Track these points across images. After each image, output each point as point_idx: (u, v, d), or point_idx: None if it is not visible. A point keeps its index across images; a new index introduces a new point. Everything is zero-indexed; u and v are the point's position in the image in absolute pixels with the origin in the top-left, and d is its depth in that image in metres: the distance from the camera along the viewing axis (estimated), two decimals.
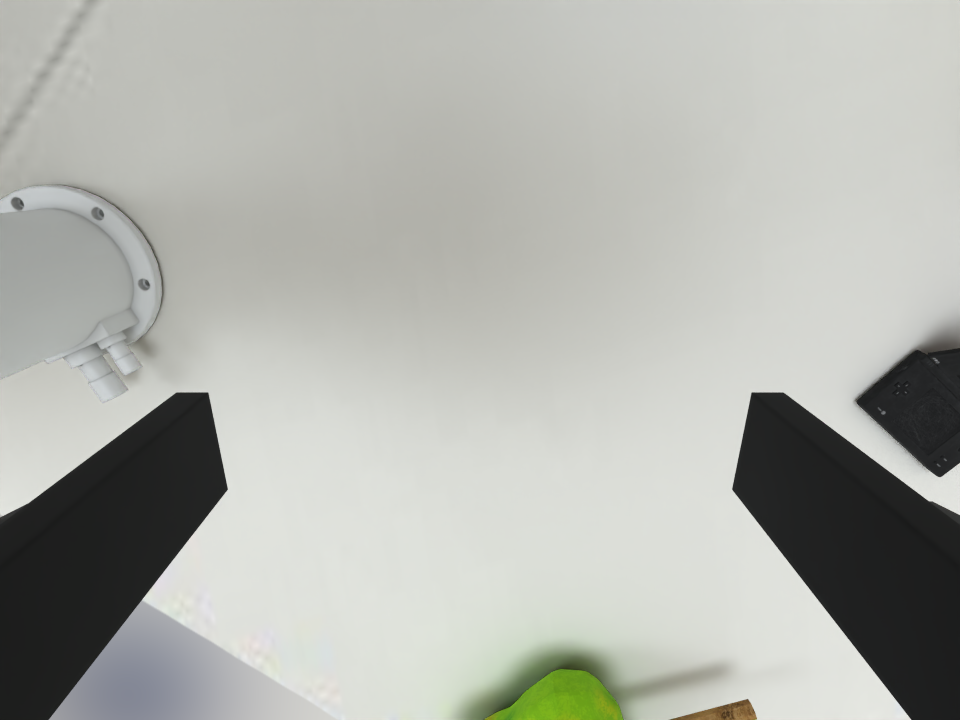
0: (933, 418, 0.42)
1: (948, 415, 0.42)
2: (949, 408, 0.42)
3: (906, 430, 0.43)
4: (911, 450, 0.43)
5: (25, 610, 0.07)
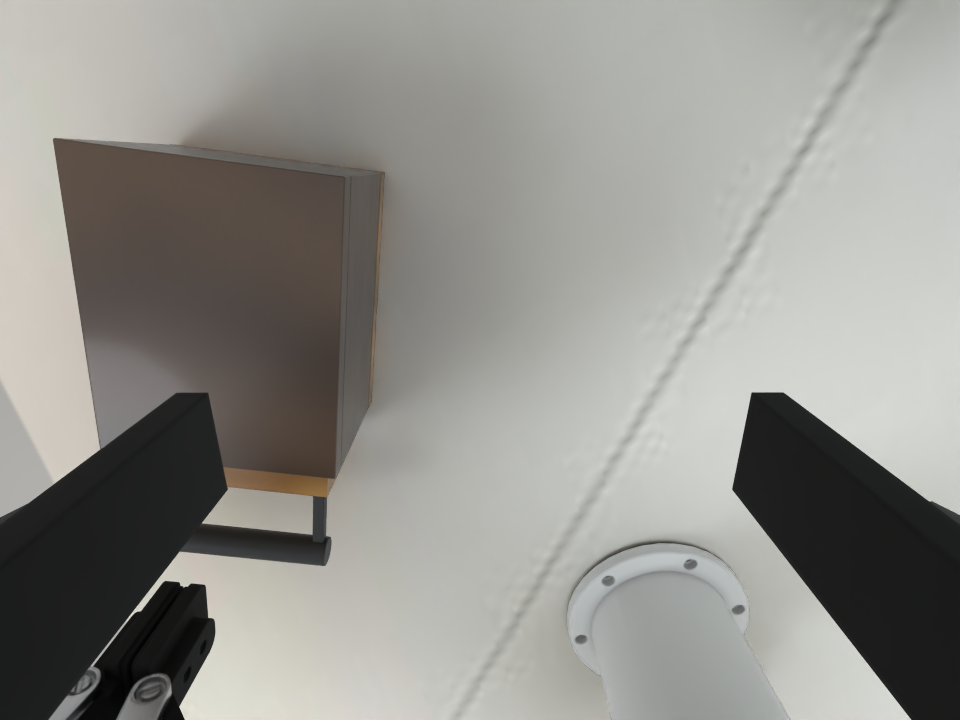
0: None
1: None
2: None
3: None
4: None
5: (24, 609, 0.07)
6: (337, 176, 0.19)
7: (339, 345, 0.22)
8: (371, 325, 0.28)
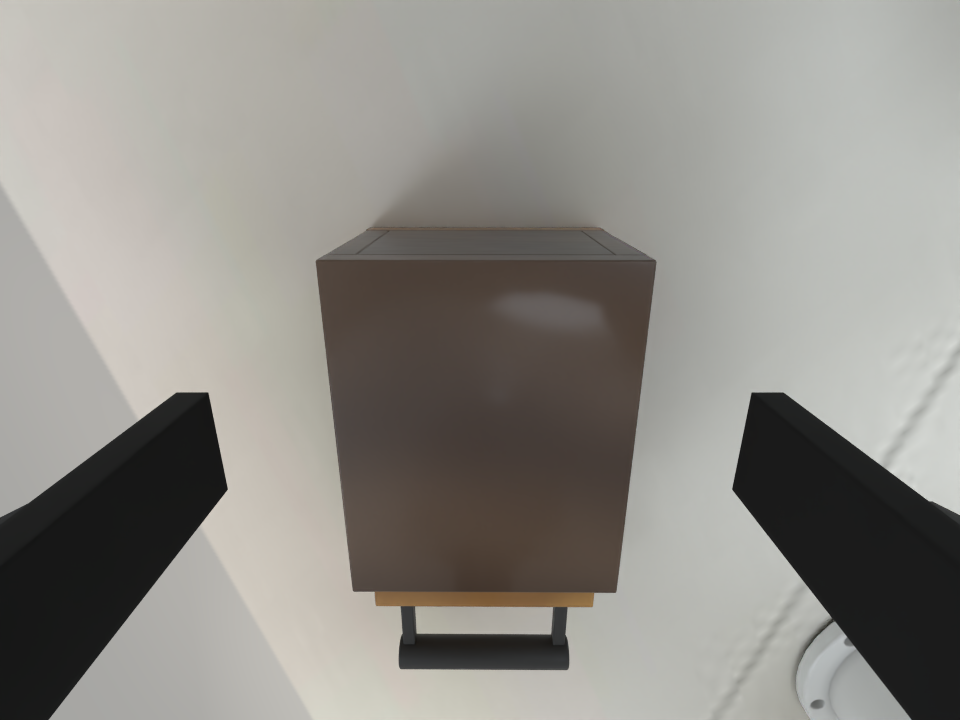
0: None
1: None
2: None
3: None
4: None
5: (24, 609, 0.07)
6: (647, 261, 0.16)
7: (633, 448, 0.18)
8: None
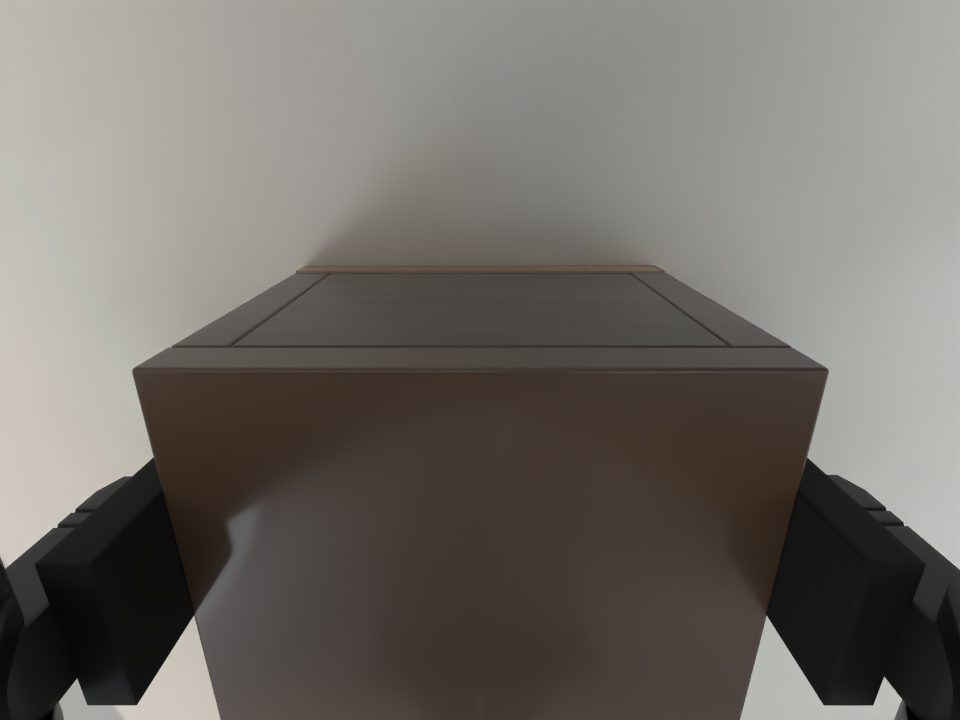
0: None
1: None
2: None
3: None
4: None
5: (144, 565, 0.08)
6: (810, 369, 0.08)
7: (747, 683, 0.10)
8: None
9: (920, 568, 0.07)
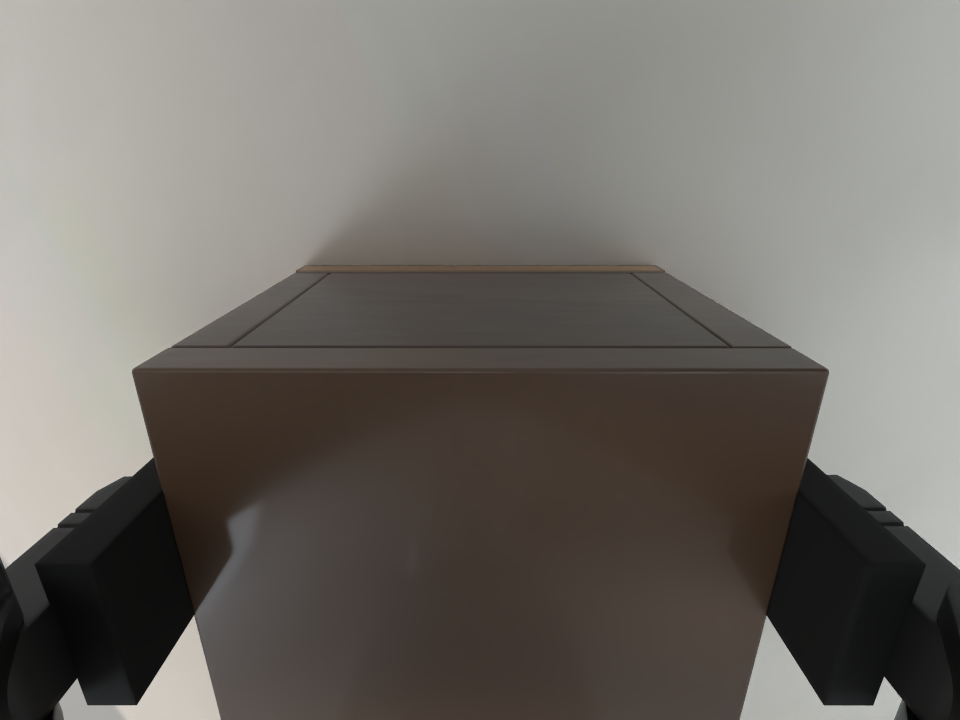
0: None
1: None
2: None
3: None
4: None
5: (144, 566, 0.08)
6: (811, 370, 0.08)
7: (747, 683, 0.10)
8: None
9: (920, 568, 0.07)
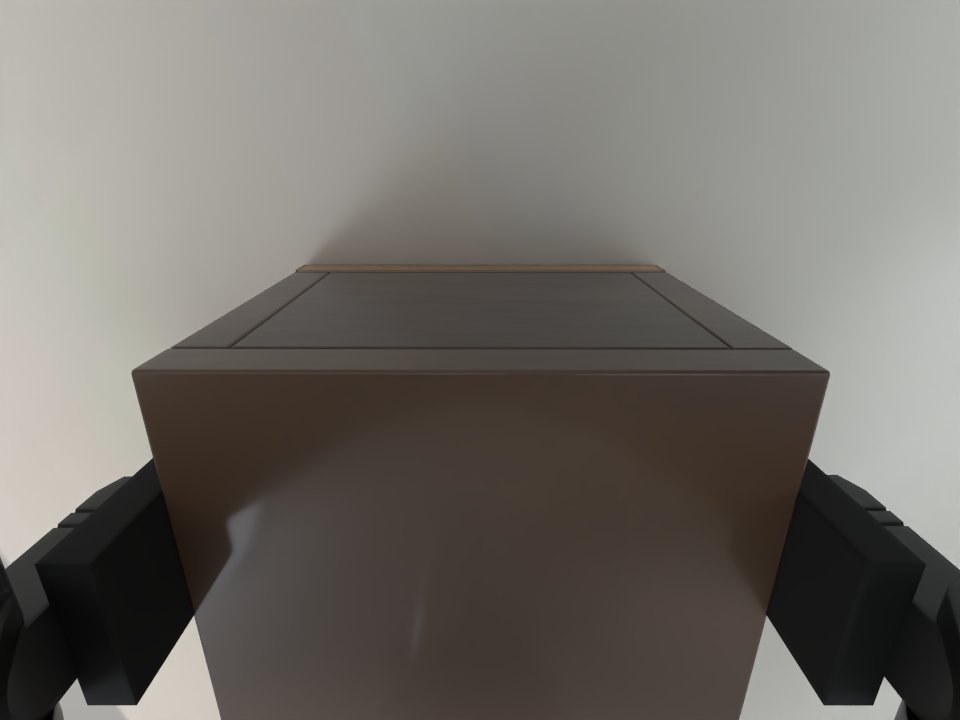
0: None
1: None
2: None
3: None
4: None
5: (144, 565, 0.08)
6: (811, 372, 0.08)
7: (746, 684, 0.10)
8: None
9: (920, 568, 0.07)
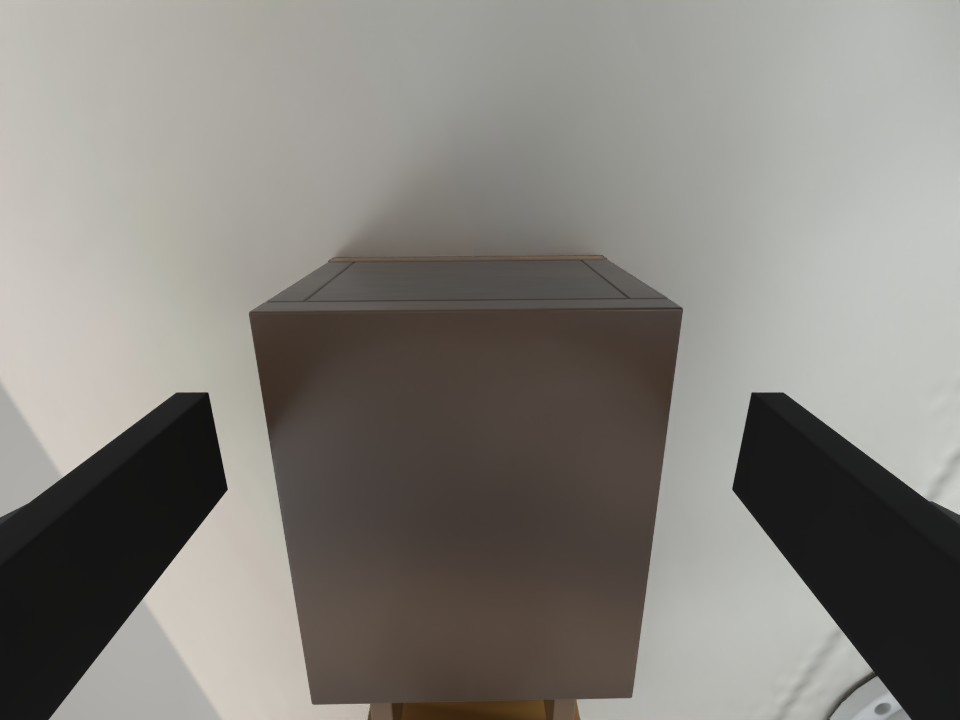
0: None
1: None
2: None
3: None
4: None
5: (24, 609, 0.07)
6: (671, 308, 0.13)
7: (652, 533, 0.15)
8: None
9: None
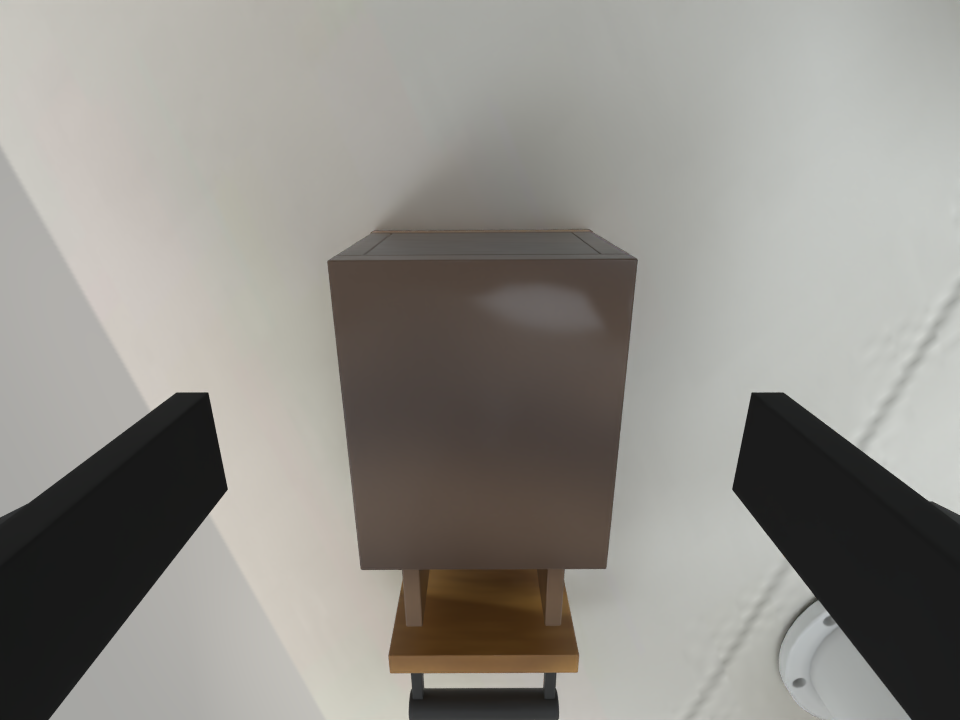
0: None
1: None
2: None
3: None
4: None
5: (24, 610, 0.07)
6: (629, 259, 0.18)
7: (619, 433, 0.20)
8: None
9: None
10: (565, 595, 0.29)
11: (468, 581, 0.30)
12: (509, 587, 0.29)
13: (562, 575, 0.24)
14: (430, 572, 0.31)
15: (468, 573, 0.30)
